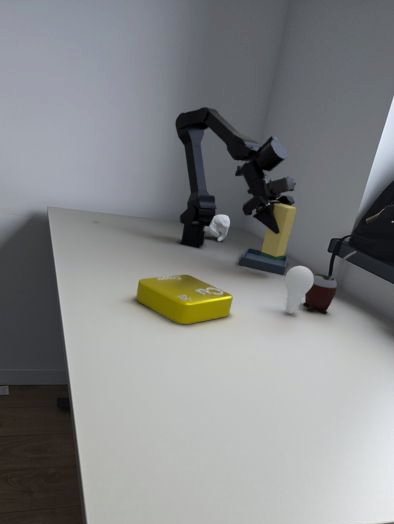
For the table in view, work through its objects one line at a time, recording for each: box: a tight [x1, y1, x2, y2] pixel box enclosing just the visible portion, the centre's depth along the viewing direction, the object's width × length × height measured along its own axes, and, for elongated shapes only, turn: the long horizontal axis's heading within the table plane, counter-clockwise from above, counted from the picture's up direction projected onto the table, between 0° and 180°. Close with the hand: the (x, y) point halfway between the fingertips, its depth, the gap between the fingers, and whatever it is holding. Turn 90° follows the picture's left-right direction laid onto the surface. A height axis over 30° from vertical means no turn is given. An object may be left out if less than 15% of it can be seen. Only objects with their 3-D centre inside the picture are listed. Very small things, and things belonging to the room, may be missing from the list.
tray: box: [239, 247, 289, 276], centre depth 149 cm, size 13×15×2 cm
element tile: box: [135, 274, 233, 325], centre depth 101 cm, size 15×15×5 cm
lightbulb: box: [284, 265, 314, 315], centre depth 109 cm, size 6×6×11 cm
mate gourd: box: [303, 250, 357, 315], centre depth 114 cm, size 8×8×15 cm
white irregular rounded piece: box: [205, 214, 231, 242], centre depth 169 cm, size 6×8×12 cm
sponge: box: [261, 204, 298, 260], centre depth 134 cm, size 5×5×14 cm
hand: (282, 232), depth 133 cm, fingers closed on sponge, 5 cm apart
